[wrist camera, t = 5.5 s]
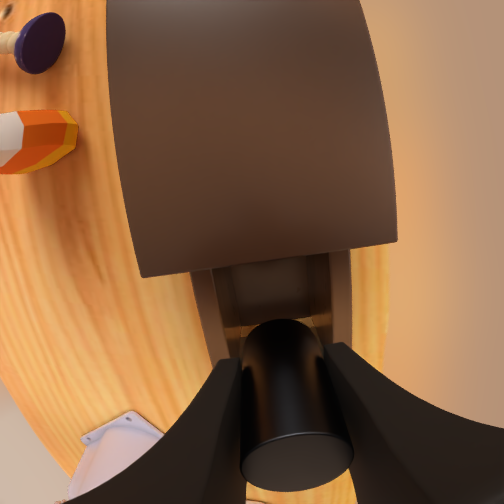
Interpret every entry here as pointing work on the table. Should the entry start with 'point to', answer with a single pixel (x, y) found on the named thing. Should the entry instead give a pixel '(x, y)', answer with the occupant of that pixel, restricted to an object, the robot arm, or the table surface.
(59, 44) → the purple dumbbell
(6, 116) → the candy corn
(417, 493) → the robot arm
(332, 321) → the drawer
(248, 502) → the pill bottle
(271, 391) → the peg
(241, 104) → the cabinet
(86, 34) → the table surface
